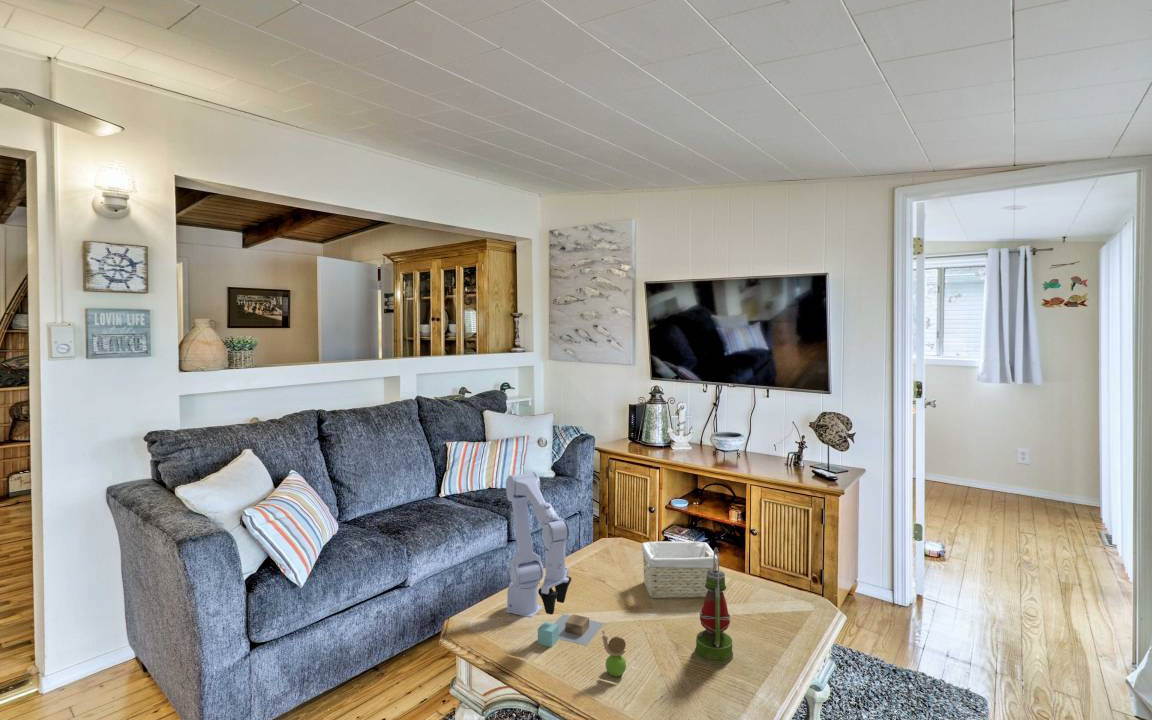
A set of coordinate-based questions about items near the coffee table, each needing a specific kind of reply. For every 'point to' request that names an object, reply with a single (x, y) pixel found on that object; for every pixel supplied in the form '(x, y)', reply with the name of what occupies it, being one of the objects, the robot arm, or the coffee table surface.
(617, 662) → the green toy figure
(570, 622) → the walnut brick
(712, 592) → the lantern
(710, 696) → the coffee table surface
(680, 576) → the storage basket
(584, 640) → the build plate
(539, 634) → the teal brick
